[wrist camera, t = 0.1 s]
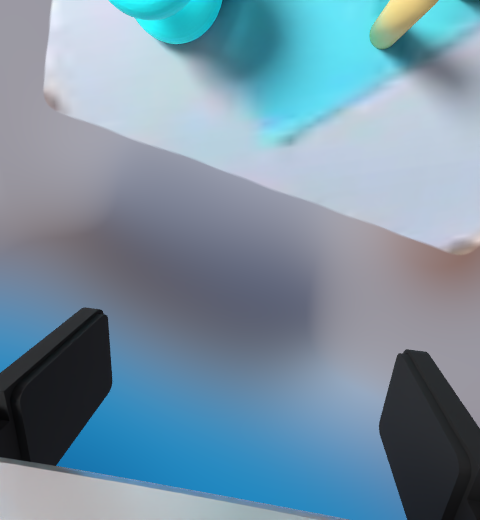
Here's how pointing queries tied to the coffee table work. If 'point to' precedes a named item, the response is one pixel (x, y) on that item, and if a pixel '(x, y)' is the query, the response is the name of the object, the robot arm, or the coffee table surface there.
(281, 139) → the coffee table surface
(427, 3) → the pin
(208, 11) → the cyan round grooved piece
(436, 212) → the coffee table surface
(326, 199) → the coffee table surface
